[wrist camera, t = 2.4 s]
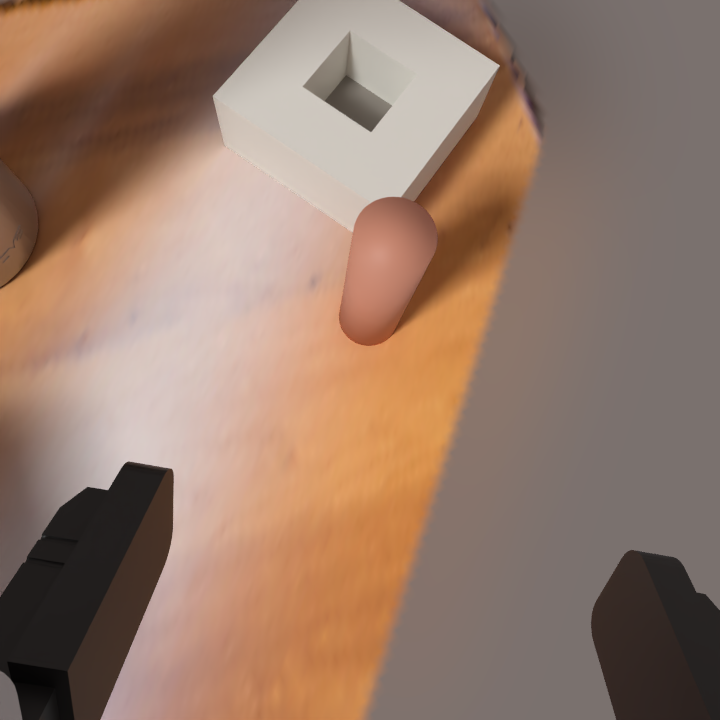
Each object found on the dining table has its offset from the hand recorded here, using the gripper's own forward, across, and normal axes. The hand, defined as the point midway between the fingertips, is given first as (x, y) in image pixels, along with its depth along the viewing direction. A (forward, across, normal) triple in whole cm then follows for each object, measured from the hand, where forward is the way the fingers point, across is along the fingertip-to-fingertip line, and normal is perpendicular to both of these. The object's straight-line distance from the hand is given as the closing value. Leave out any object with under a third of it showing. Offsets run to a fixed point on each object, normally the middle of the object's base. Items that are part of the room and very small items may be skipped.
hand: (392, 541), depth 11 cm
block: (+34, +3, 0) cm, 35 cm away
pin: (+26, 0, +9) cm, 27 cm away
